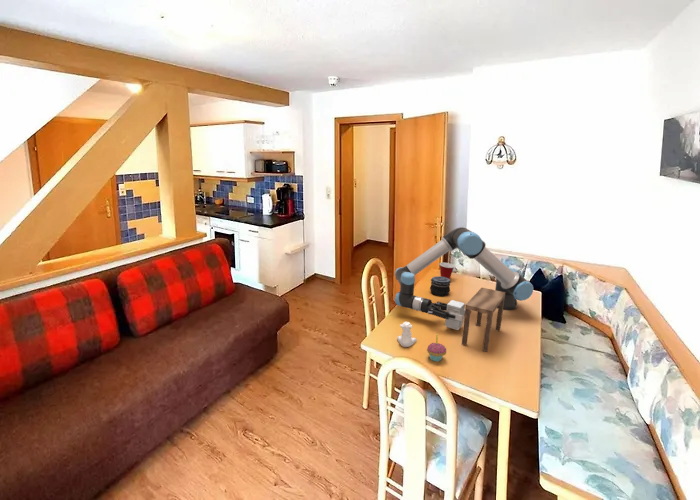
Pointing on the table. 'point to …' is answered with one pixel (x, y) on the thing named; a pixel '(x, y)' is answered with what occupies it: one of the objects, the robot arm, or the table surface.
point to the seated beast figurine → (406, 335)
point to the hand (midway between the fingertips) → (464, 315)
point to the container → (440, 286)
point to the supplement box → (456, 309)
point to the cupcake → (436, 350)
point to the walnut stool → (486, 304)
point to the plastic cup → (446, 269)
